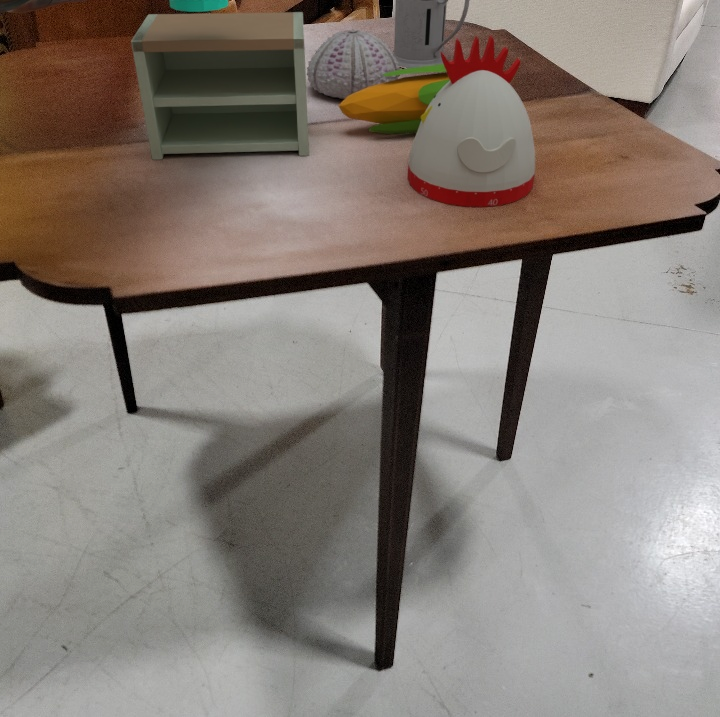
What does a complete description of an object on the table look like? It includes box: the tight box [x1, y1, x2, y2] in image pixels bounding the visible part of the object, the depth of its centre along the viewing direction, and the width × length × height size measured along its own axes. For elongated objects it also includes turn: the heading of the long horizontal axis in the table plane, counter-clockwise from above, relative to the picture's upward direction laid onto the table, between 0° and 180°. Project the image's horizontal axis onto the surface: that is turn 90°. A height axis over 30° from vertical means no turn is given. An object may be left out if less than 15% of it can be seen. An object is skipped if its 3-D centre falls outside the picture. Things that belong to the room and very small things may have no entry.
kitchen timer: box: [407, 35, 536, 208], centre depth 77 cm, size 14×14×15 cm
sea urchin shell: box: [306, 29, 401, 100], centre depth 104 cm, size 13×14×8 cm
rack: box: [130, 11, 310, 161], centre depth 87 cm, size 18×12×13 cm, turn 94°
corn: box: [338, 64, 450, 135], centre depth 92 cm, size 7×8×20 cm
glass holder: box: [393, 0, 470, 68], centre depth 111 cm, size 9×14×15 cm, turn 39°
